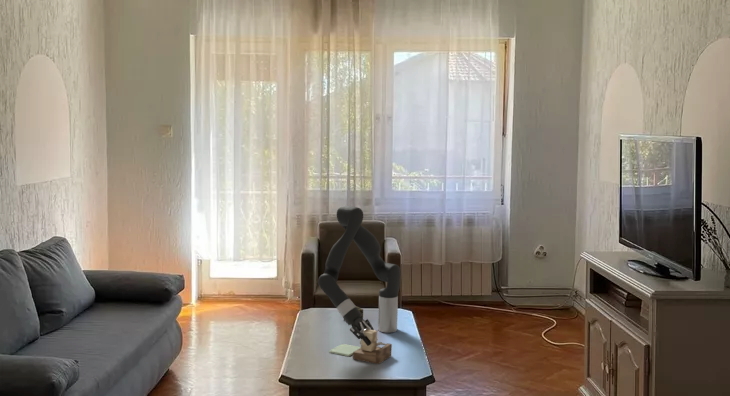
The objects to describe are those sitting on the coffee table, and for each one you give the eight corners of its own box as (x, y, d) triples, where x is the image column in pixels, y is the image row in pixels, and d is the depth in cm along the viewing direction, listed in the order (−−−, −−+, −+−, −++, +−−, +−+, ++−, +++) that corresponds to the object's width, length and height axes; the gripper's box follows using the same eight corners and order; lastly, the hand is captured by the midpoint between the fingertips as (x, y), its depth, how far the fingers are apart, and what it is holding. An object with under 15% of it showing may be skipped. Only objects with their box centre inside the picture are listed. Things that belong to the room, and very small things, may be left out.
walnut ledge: (365, 351, 322) (366, 339, 321) (391, 356, 316) (391, 344, 315) (352, 358, 311) (353, 346, 311) (378, 364, 305) (379, 351, 305)
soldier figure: (383, 355, 321) (358, 344, 322) (381, 359, 325) (356, 349, 326) (389, 339, 326) (364, 330, 327) (387, 344, 330) (362, 334, 331)
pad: (342, 345, 330) (342, 343, 330) (362, 349, 325) (362, 347, 325) (329, 352, 319) (329, 350, 319) (349, 356, 314) (349, 354, 314)
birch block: (366, 346, 318) (366, 328, 317) (376, 348, 315) (377, 330, 314) (360, 349, 313) (361, 331, 312) (371, 351, 311) (371, 333, 310)
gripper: (346, 310, 309) (370, 342, 305) (362, 303, 322) (385, 333, 318) (335, 320, 312) (359, 352, 308) (351, 313, 325) (374, 343, 321)
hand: (372, 342), depth 313 cm, fingers closed on birch block, 5 cm apart
